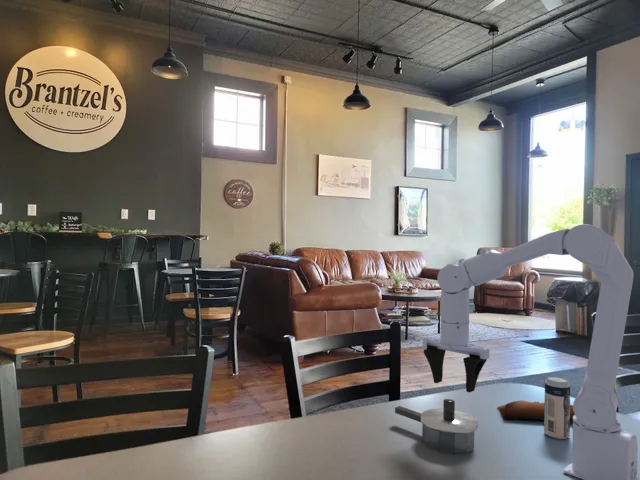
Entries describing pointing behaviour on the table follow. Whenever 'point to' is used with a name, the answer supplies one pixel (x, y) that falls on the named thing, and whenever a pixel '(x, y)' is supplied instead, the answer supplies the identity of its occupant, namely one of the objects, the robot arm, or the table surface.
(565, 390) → the white labeled canister
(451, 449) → the saucepan
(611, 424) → the robot arm
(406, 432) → the table surface
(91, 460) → the table surface
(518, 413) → the sunglasses case
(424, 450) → the table surface
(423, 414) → the lid
